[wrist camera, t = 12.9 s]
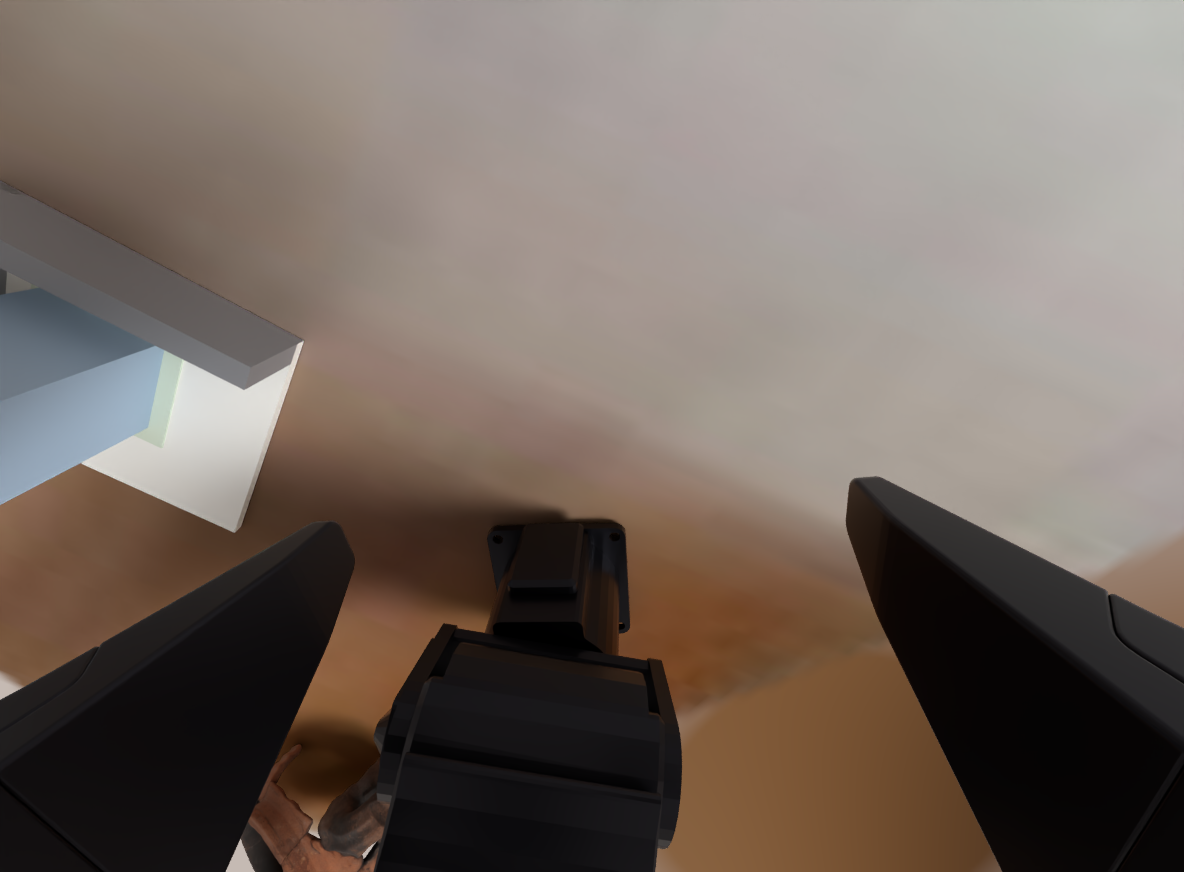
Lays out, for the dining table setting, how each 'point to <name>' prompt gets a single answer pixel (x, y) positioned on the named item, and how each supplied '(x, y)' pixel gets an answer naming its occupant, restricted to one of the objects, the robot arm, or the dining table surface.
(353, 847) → the pottery mug
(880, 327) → the dining table surface
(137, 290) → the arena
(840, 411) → the dining table surface
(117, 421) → the slate block
